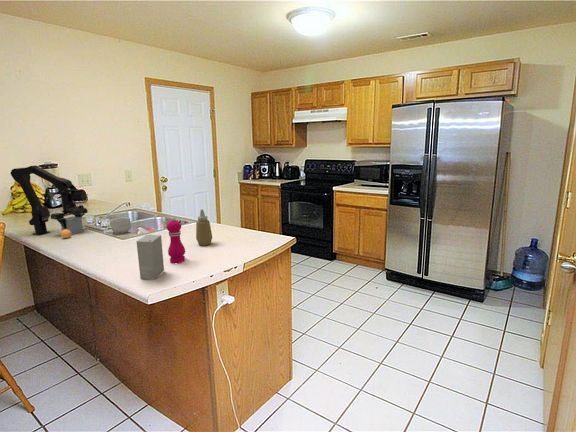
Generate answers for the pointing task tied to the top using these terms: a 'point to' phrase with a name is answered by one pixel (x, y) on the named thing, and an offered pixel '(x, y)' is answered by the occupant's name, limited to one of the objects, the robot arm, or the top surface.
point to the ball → (65, 233)
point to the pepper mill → (175, 242)
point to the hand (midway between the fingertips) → (72, 227)
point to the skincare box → (150, 256)
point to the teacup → (120, 225)
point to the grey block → (73, 224)
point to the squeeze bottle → (203, 230)
